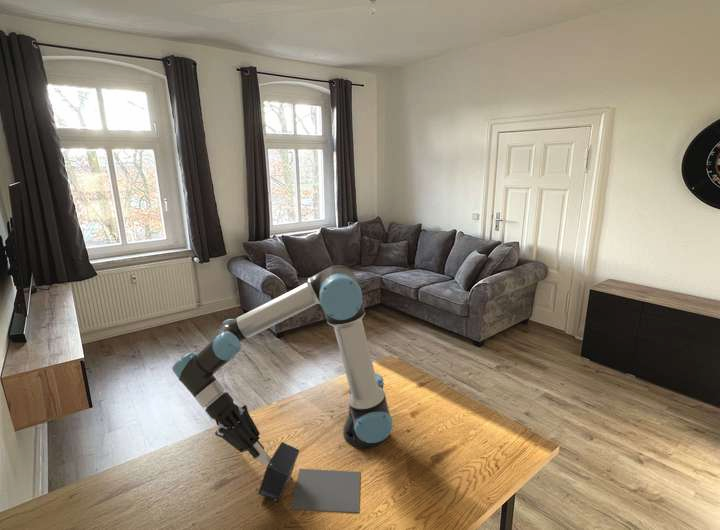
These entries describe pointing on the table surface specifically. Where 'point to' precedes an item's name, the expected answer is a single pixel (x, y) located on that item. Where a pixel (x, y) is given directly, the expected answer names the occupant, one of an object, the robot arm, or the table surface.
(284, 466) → the small box
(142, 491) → the table surface
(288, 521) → the table surface
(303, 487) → the mat
